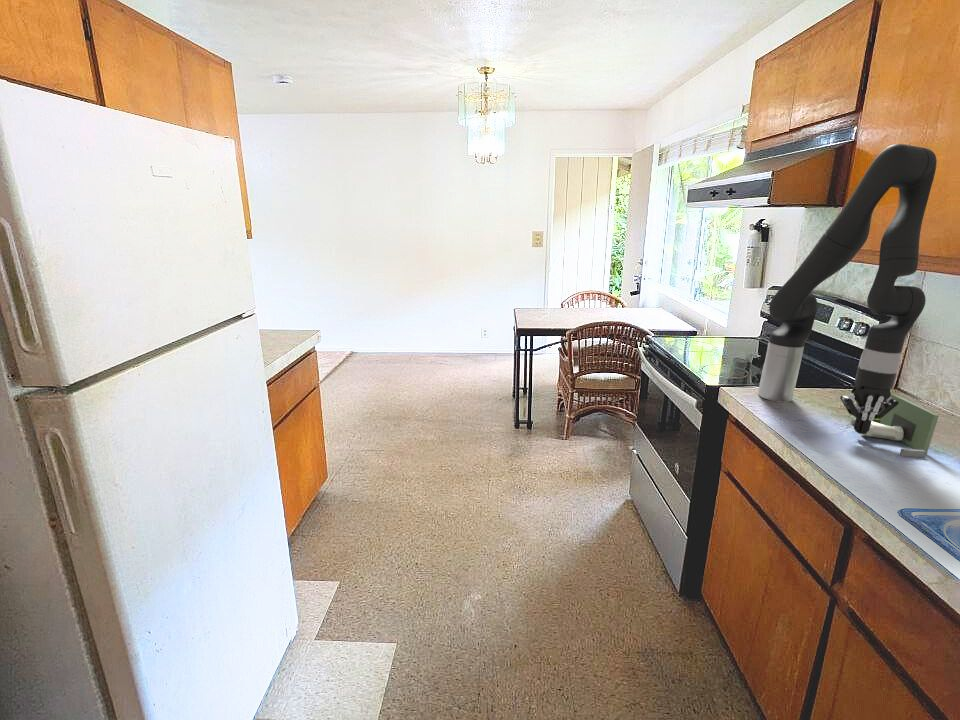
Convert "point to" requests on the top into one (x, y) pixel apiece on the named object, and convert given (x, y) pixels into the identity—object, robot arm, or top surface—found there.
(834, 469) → the top surface
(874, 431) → the pipe fitting
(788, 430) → the top surface
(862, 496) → the top surface
